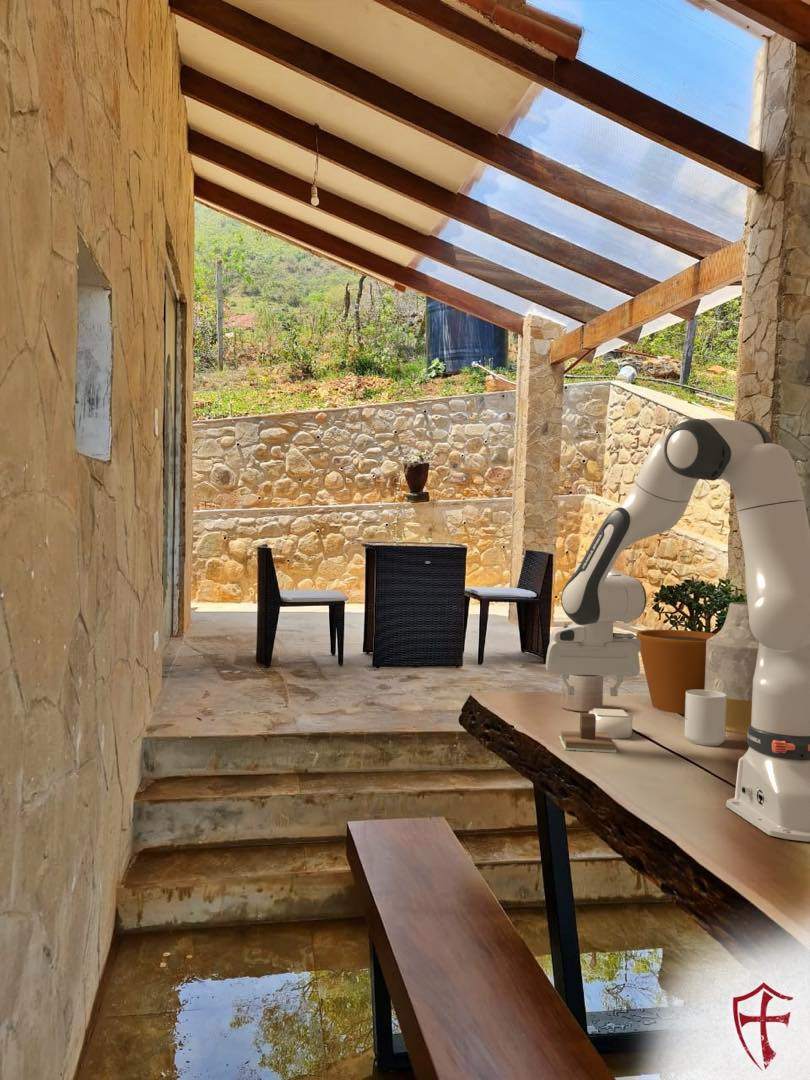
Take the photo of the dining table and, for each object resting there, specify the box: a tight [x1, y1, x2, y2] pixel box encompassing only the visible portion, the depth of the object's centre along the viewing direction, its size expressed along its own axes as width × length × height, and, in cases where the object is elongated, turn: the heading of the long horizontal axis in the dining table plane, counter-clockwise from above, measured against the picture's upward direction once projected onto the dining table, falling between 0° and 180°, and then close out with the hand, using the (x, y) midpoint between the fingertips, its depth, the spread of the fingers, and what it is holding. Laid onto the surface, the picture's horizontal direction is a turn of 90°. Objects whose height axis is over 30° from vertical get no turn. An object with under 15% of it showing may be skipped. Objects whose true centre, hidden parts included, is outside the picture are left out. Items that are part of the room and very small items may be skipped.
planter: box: [560, 675, 604, 713], centre depth 227 cm, size 11×11×10 cm
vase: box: [705, 601, 759, 735], centre depth 212 cm, size 18×18×30 cm
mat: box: [558, 735, 617, 754], centre depth 188 cm, size 11×11×1 cm
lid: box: [560, 712, 616, 750], centre depth 188 cm, size 10×10×6 cm
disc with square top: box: [589, 708, 633, 740], centre depth 200 cm, size 10×10×5 cm
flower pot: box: [636, 629, 717, 715], centre depth 231 cm, size 24×24×20 cm
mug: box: [683, 690, 727, 747], centre depth 196 cm, size 12×9×11 cm
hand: (592, 695), depth 188 cm, fingers open, 8 cm apart
